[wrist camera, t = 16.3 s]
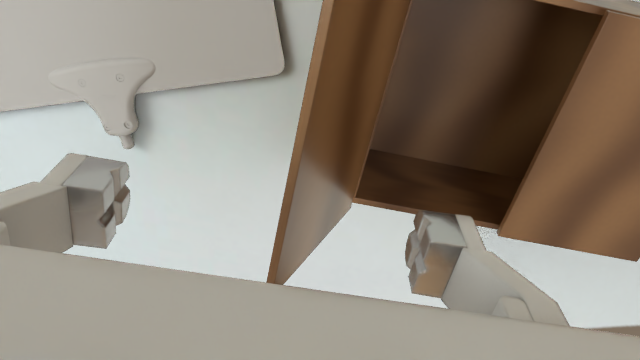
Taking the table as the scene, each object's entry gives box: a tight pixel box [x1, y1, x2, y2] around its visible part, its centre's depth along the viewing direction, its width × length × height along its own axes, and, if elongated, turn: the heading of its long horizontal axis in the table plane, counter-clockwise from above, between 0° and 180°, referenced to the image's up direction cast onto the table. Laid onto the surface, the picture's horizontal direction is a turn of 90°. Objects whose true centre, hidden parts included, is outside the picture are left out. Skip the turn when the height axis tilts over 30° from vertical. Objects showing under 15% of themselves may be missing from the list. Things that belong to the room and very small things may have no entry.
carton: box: [352, 0, 640, 262], centre depth 30 cm, size 19×14×8 cm
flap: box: [266, 0, 411, 285], centre depth 22 cm, size 9×14×1 cm
